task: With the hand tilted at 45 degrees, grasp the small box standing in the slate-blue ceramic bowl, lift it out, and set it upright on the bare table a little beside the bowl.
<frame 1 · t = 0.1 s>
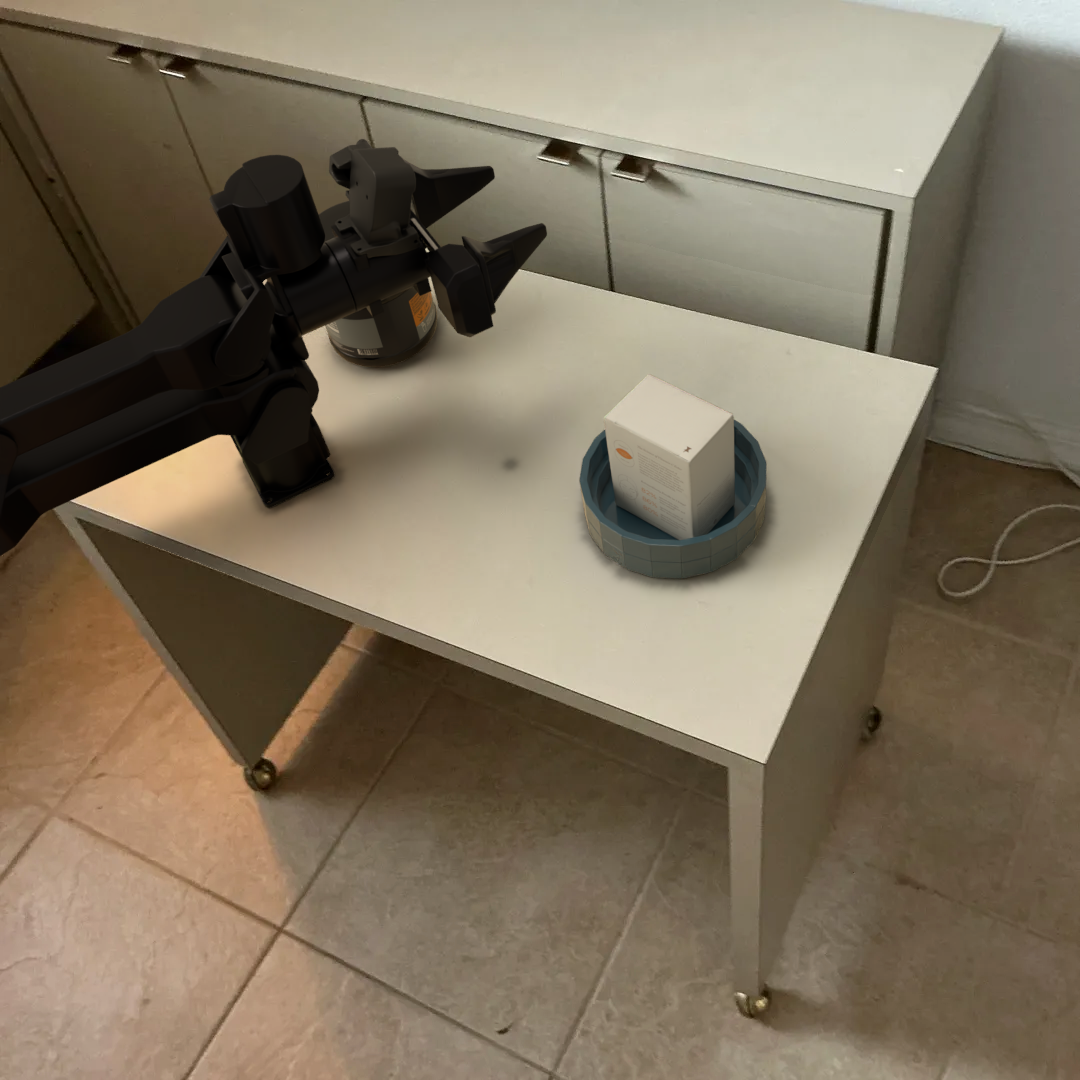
hand: (518, 199, 89), 17 cm above the table, tool horizontal, fingers open, 9 cm apart
small box: (674, 506, 90), resting on bowl
bowl: (674, 507, 90), on the table
supplement container: (386, 335, 107), on the table
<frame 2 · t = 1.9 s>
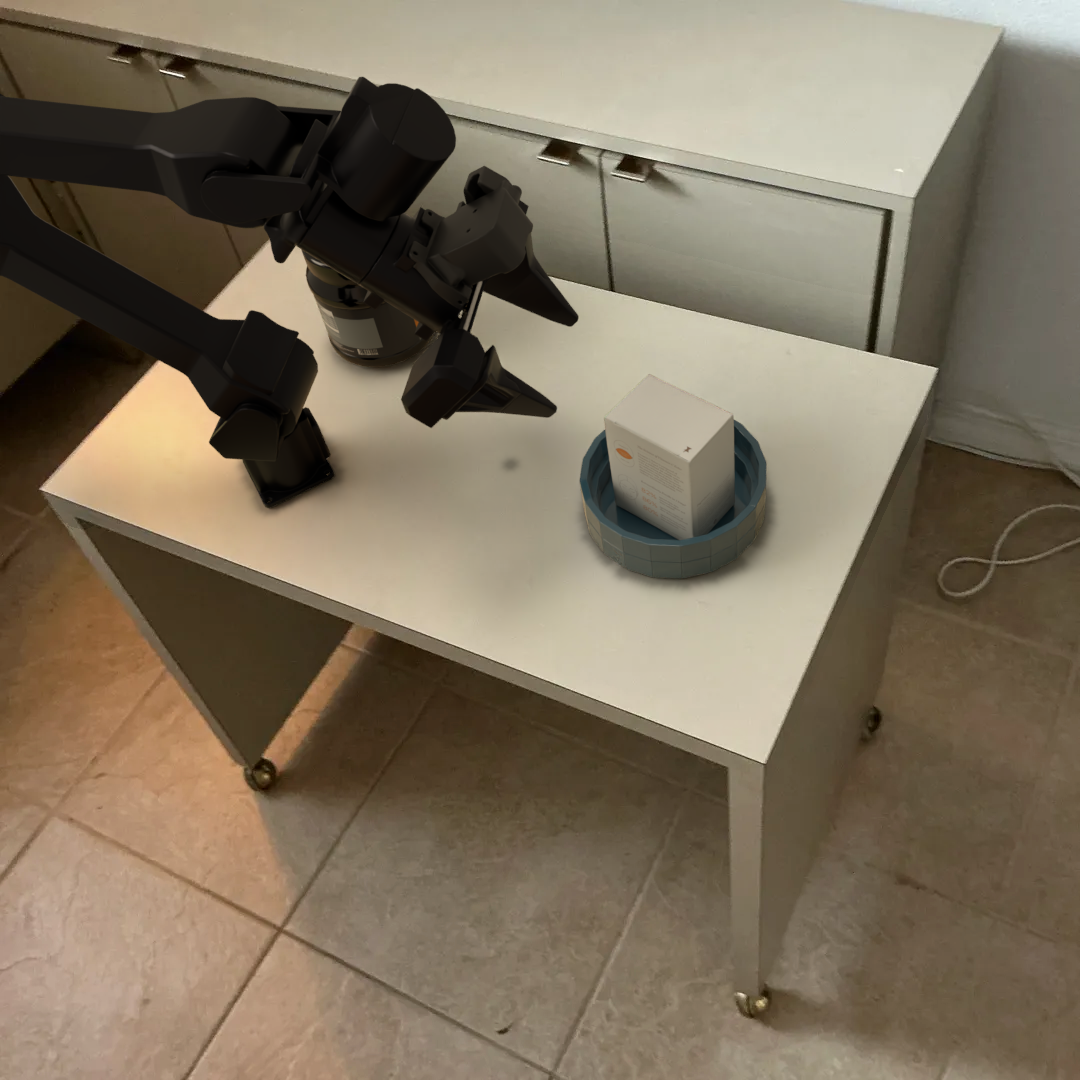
hand: (564, 366, 81), 14 cm above the table, tool tilted 50°, fingers open, 9 cm apart
nothing on the table moved.
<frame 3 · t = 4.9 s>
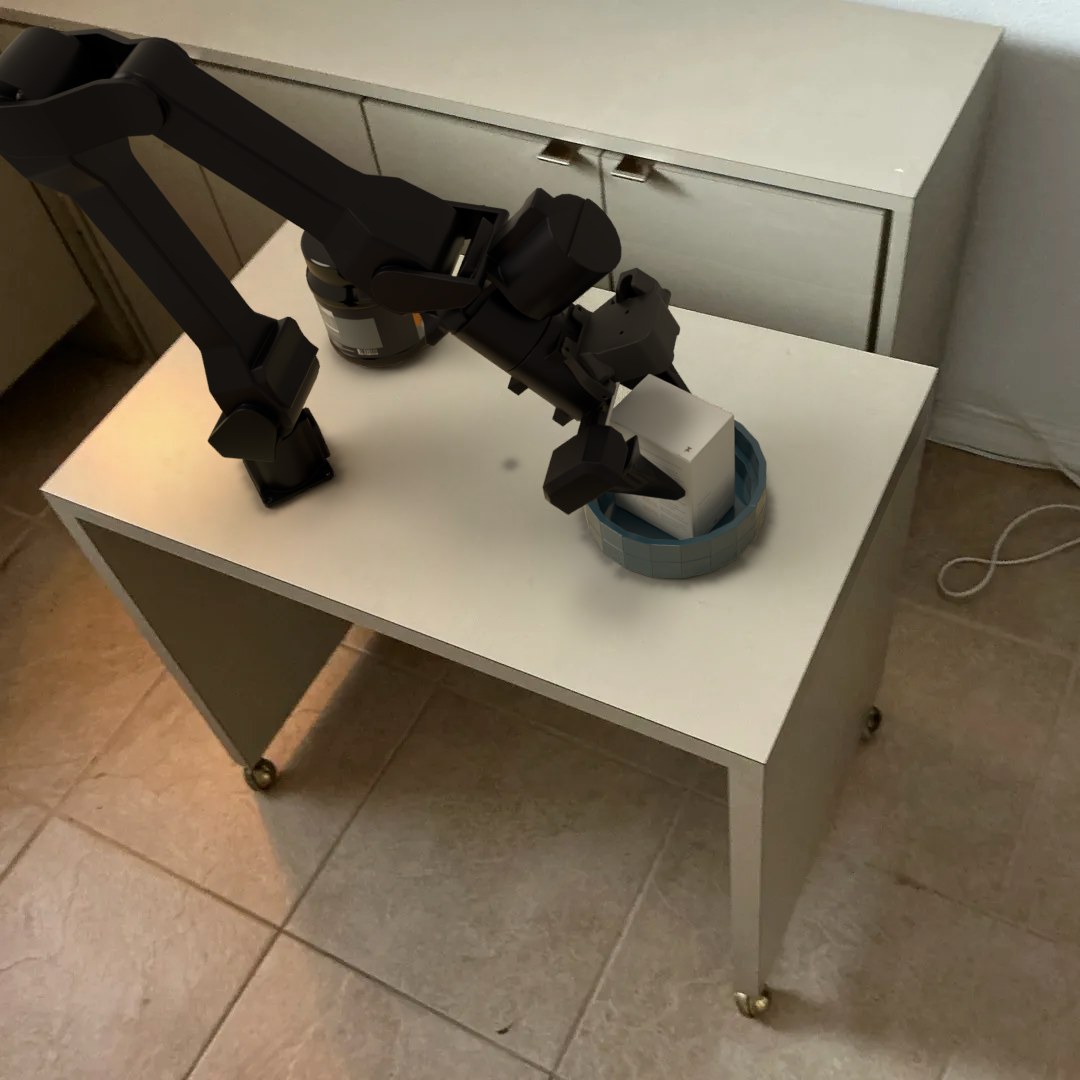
hand: (689, 454, 84), 7 cm above the table, tool tilted 45°, fingers closed on small box, 8 cm apart
small box: (674, 506, 90), resting on bowl, touching gripper
everything else where it was.
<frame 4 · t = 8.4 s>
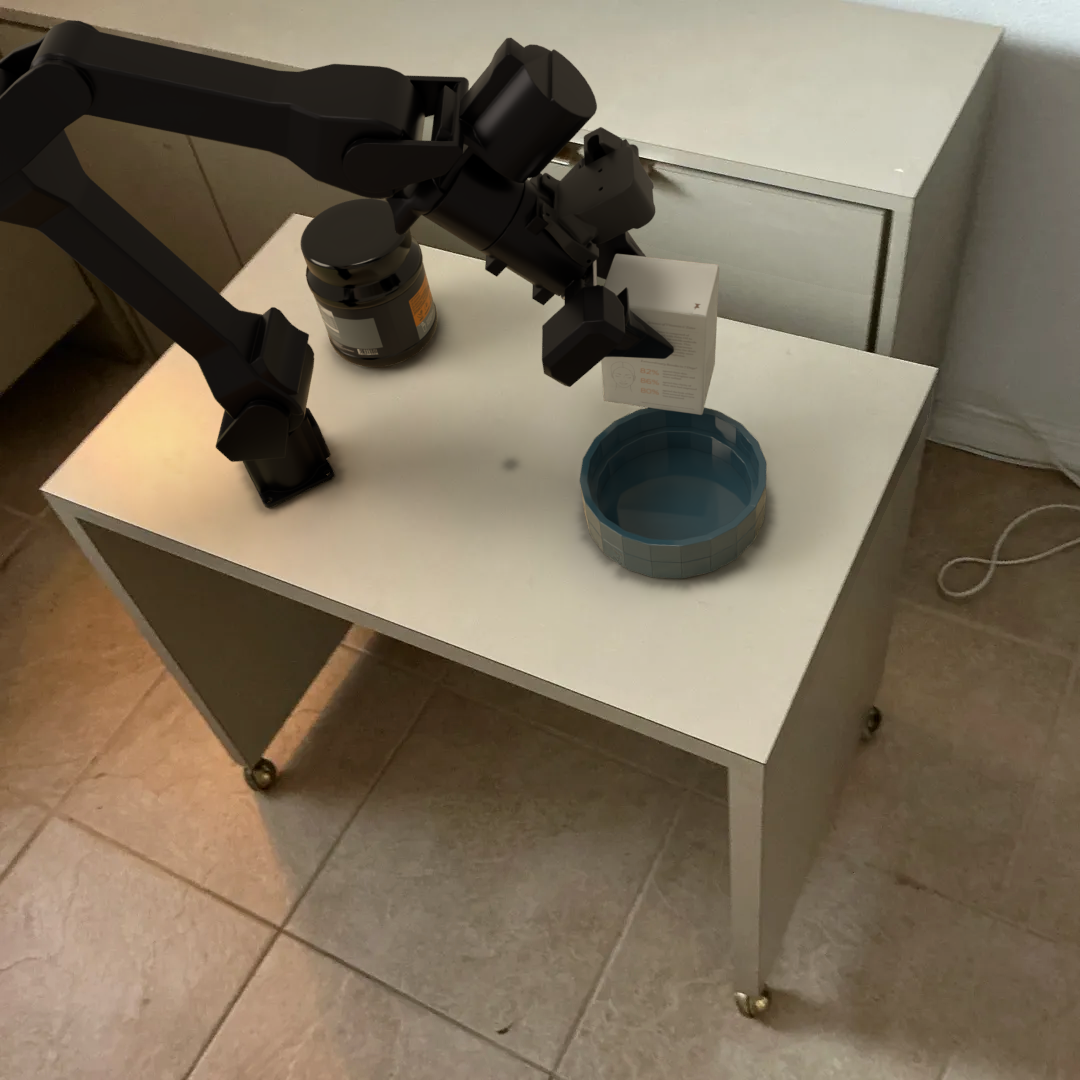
hand: (667, 322, 84), 13 cm above the table, tool tilted 45°, fingers closed on small box, 6 cm apart
small box: (658, 386, 89), point 7 cm above the table, touching gripper
everything else where it was.
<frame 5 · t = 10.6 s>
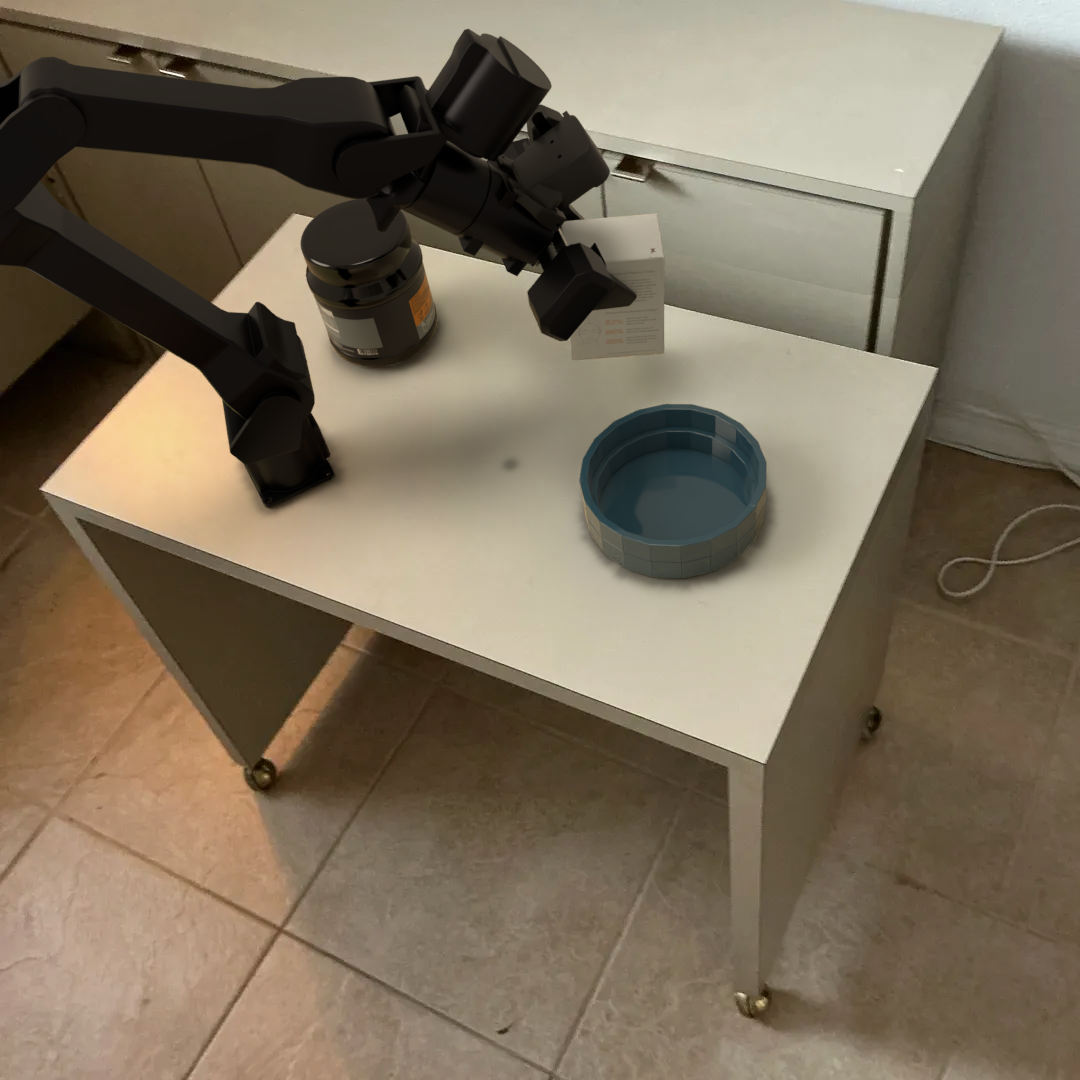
hand: (619, 275, 91), 11 cm above the table, tool tilted 45°, fingers closed on small box, 6 cm apart
small box: (615, 338, 97), point 4 cm above the table, touching gripper
everything else where it was.
when the fingers open (7 cm above the table, at t = 12.2 s): small box stays where it is, on the table.
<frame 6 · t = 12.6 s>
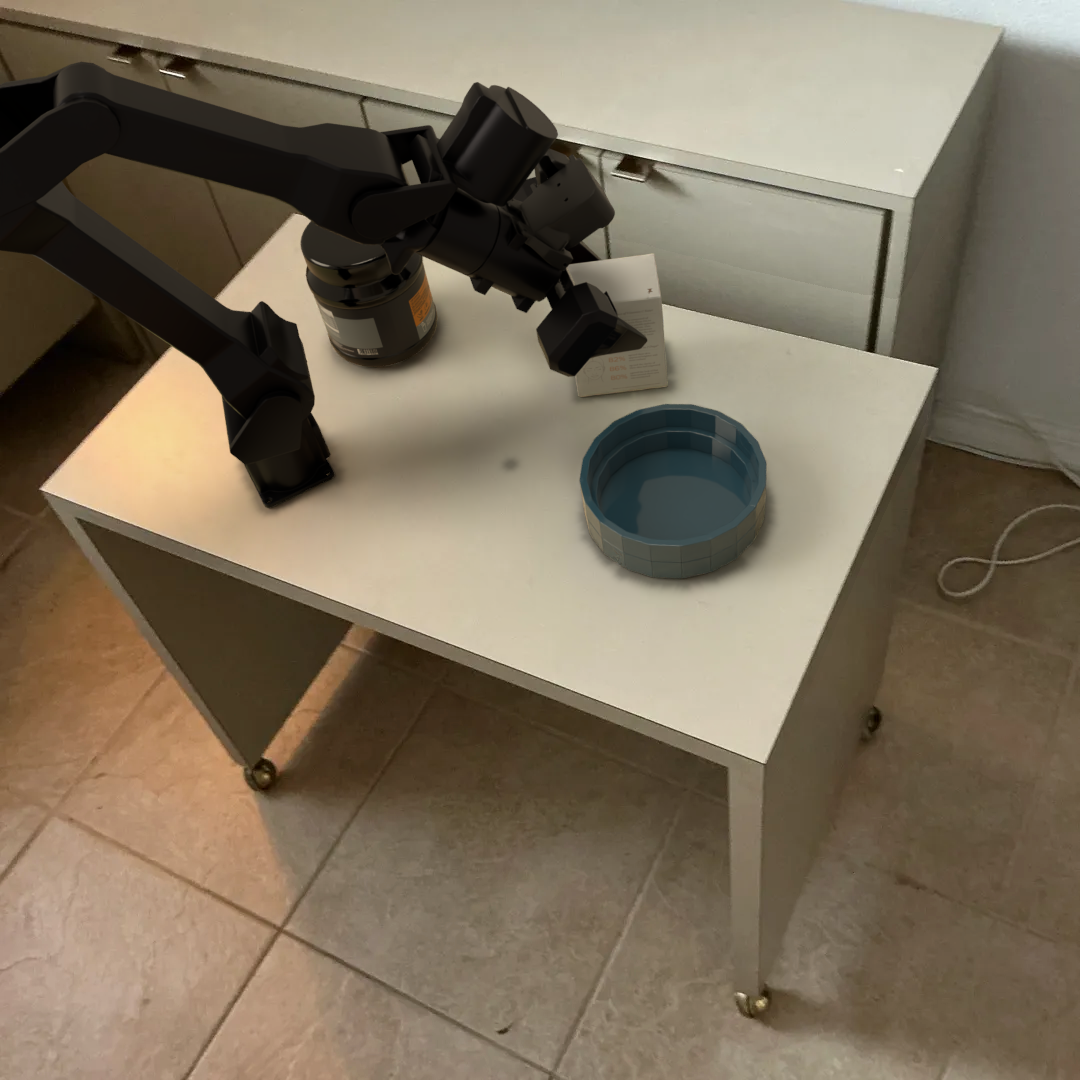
hand: (625, 308, 94), 7 cm above the table, tool tilted 45°, fingers open, 9 cm apart
small box: (620, 373, 100), on the table
everything else where it was.
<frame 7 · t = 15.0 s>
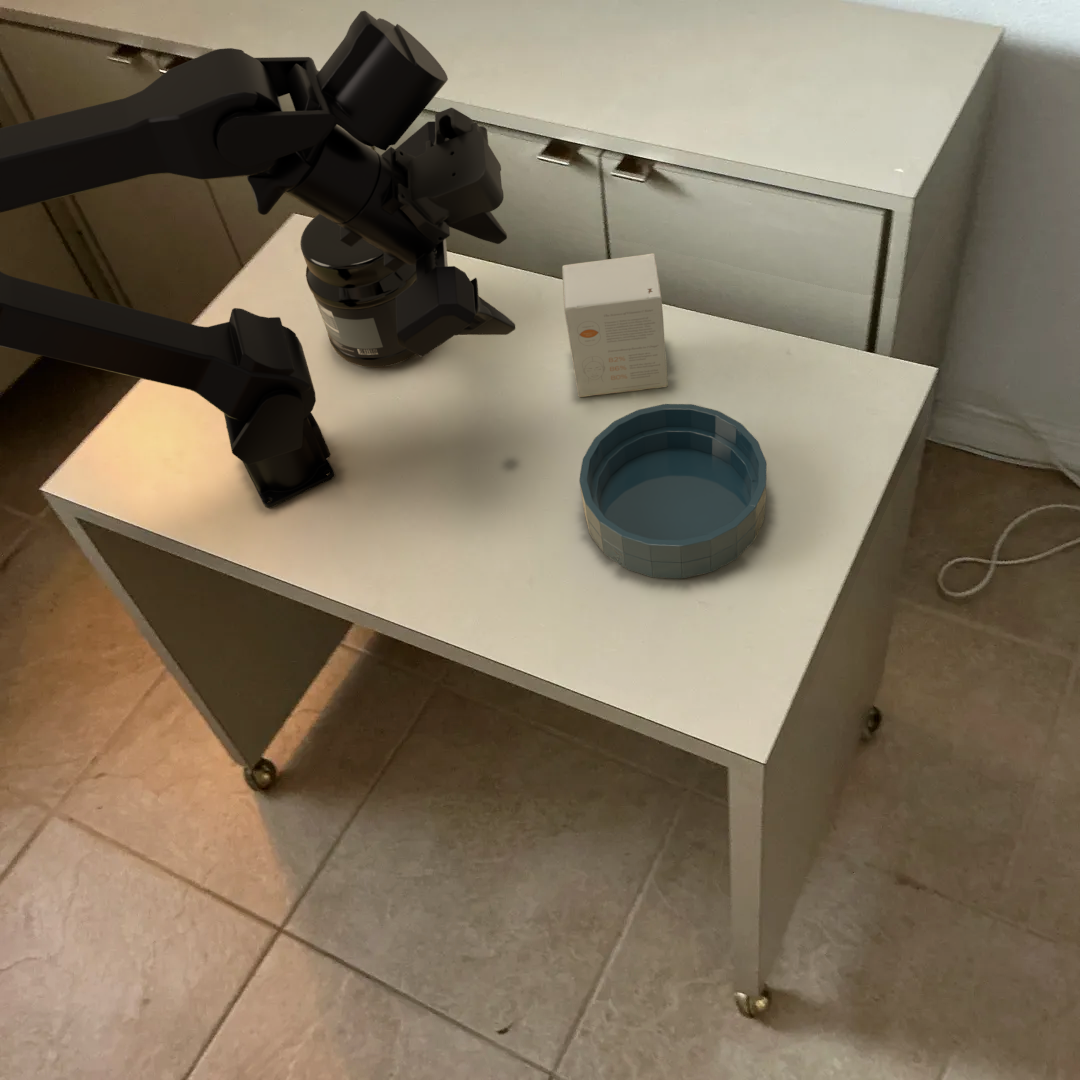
hand: (507, 283, 90), 12 cm above the table, tool tilted 35°, fingers open, 9 cm apart
nothing on the table moved.
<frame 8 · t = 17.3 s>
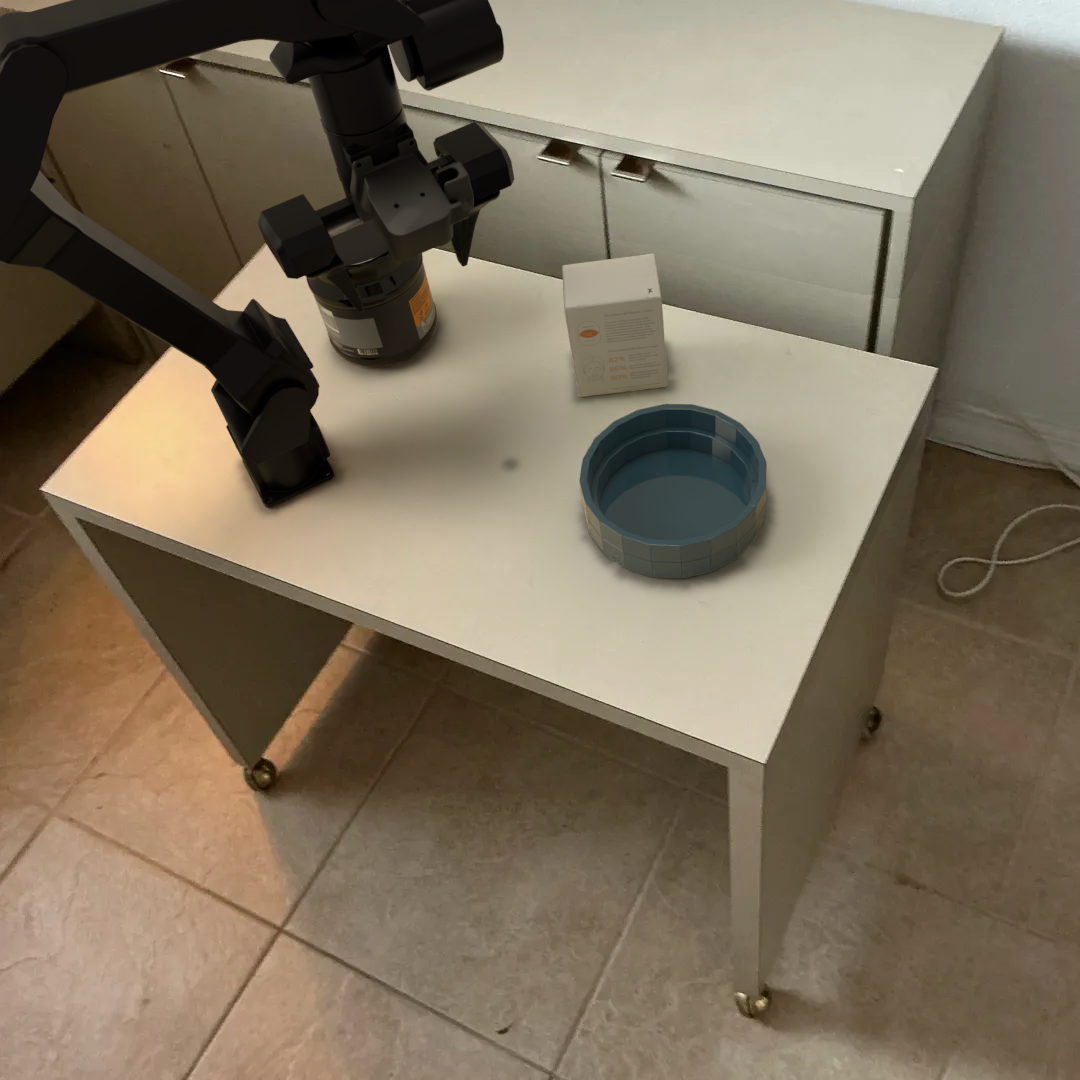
hand: (411, 286, 90), 13 cm above the table, tool pointing down, fingers open, 9 cm apart
nothing on the table moved.
at the end: small box inside the target area (0.4 cm from its centre), on the table; small box tilted 0°; the gripper is holding nothing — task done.
